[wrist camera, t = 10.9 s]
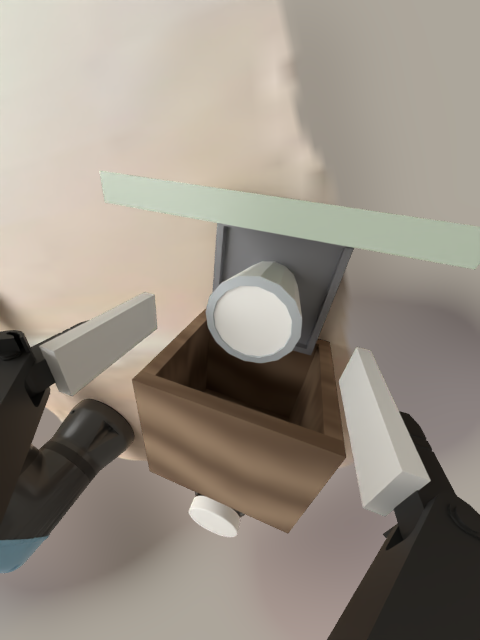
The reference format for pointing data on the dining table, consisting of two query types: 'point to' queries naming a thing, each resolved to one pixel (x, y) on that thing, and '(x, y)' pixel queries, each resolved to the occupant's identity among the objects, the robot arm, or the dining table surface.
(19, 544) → the robot arm
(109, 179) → the pale green angular block
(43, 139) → the dining table surface
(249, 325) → the shot glass
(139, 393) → the box
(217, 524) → the spread jar
